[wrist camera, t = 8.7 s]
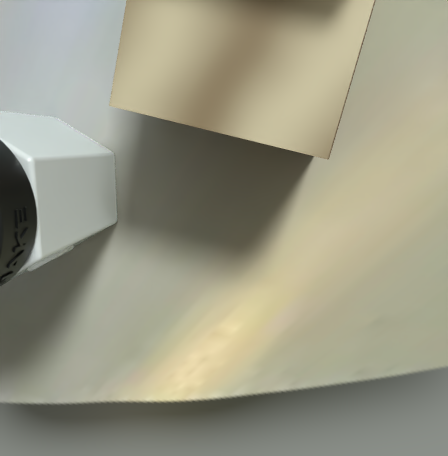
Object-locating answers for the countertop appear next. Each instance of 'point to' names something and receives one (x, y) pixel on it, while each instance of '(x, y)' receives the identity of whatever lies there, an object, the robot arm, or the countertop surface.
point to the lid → (242, 66)
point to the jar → (50, 191)
